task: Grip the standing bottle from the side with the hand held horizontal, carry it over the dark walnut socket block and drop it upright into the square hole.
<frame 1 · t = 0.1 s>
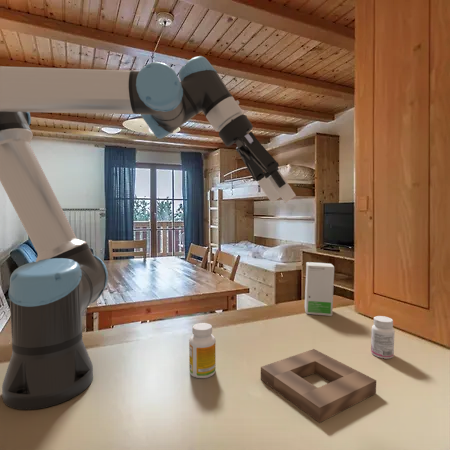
hand: (282, 199, 76), 36 cm above the counter, tool tilted 35°, fingers open, 13 cm apart
pill bottle: (382, 355, 75), on the counter
supplement bottle: (202, 373, 67), on the counter
skincare box: (318, 312, 104), on the counter
socket block: (316, 386, 62), on the counter
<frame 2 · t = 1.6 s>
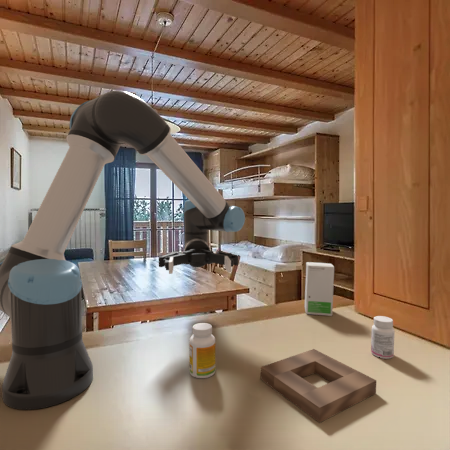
hand: (200, 267, 75), 20 cm above the counter, tool horizontal, fingers open, 13 cm apart
nothing on the counter moved.
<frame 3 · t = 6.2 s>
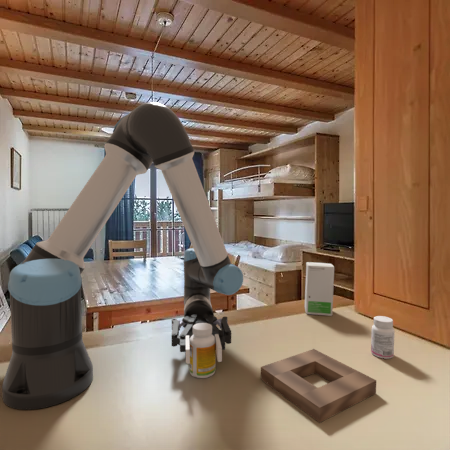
hand: (203, 355, 61), 6 cm above the counter, tool horizontal, fingers closed on supplement bottle, 5 cm apart
supplement bottle: (202, 372, 67), on the counter, touching gripper
everything else where it was.
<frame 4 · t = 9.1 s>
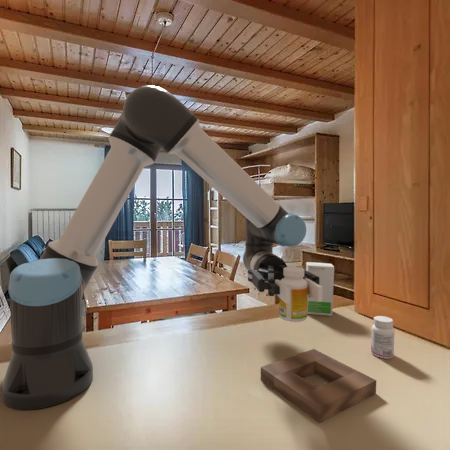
hand: (304, 295, 58), 18 cm above the counter, tool horizontal, fingers closed on supplement bottle, 5 cm apart
supplement bottle: (293, 318, 63), point 12 cm above the counter, touching gripper
everything else where it was.
when the fingers open (9 cm above the counter, at t = 11.9 s): supplement bottle drops 3 cm, resting in socket block.
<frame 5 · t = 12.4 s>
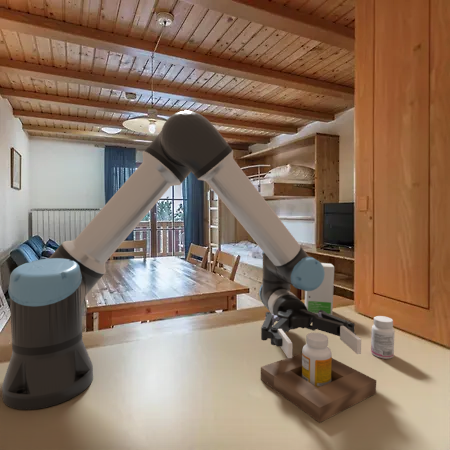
hand: (325, 348, 58), 9 cm above the counter, tool horizontal, fingers open, 12 cm apart
supplement bottle: (316, 386, 62), resting in socket block
everything else where it was.
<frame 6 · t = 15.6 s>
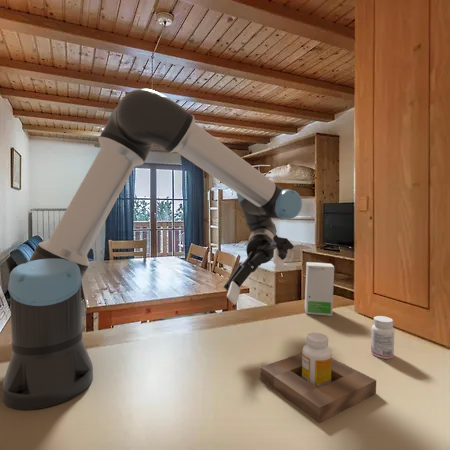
hand: (254, 283, 70), 17 cm above the counter, tool horizontal, fingers open, 13 cm apart
nothing on the counter moved.
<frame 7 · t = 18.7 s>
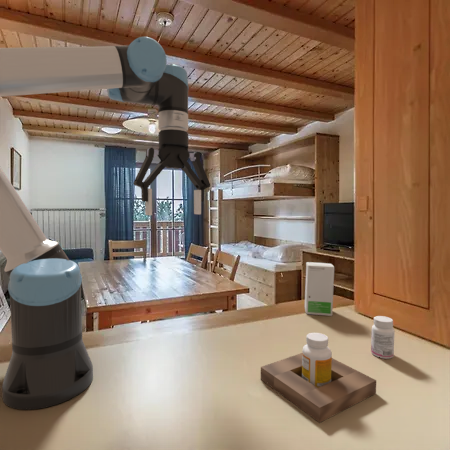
hand: (174, 214, 84), 32 cm above the counter, tool pointing down, fingers open, 13 cm apart
nothing on the counter moved.
at the end: supplement bottle 0.1 cm off-centre on the socket block, point 0.0 cm above the socket block's base; supplement bottle tilted 0°; the gripper is holding nothing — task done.
